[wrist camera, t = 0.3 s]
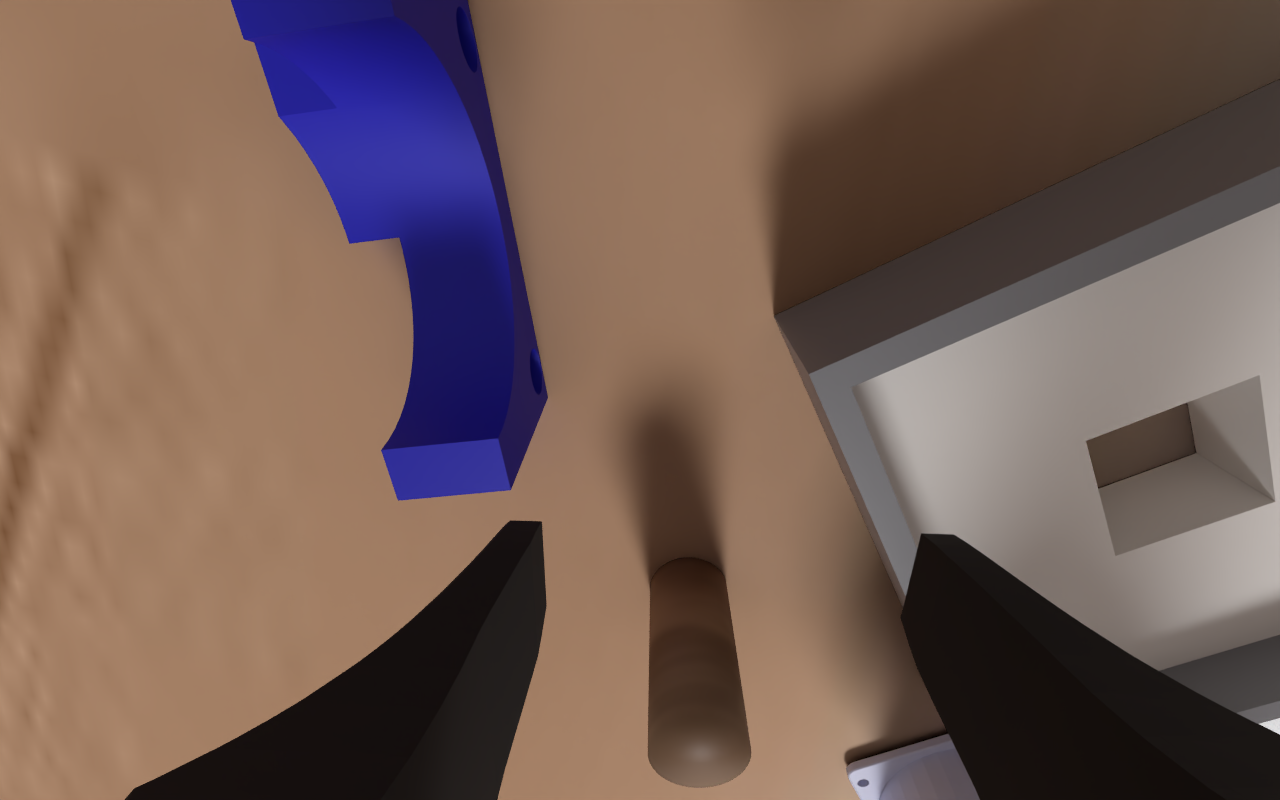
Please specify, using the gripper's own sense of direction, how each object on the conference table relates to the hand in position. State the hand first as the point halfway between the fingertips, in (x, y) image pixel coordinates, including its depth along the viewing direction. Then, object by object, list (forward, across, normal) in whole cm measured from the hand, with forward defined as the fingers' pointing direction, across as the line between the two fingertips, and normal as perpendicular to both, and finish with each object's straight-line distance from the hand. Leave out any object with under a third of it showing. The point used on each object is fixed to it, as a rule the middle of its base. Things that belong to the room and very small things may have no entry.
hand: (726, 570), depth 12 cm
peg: (+10, 0, +9) cm, 13 cm away
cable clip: (+10, +8, -5) cm, 14 cm away
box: (+10, -14, +1) cm, 17 cm away
